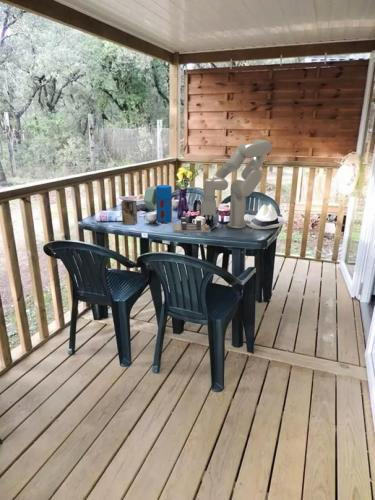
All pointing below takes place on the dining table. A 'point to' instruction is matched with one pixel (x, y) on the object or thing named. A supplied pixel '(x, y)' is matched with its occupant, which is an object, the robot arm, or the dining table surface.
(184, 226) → the breaker
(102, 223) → the dining table surface
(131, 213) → the coffee box
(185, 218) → the breaker
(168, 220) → the blue tall box
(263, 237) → the dining table surface
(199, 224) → the breaker mid
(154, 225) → the dining table surface
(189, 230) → the panel
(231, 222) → the robot arm
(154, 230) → the dining table surface
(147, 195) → the planter
